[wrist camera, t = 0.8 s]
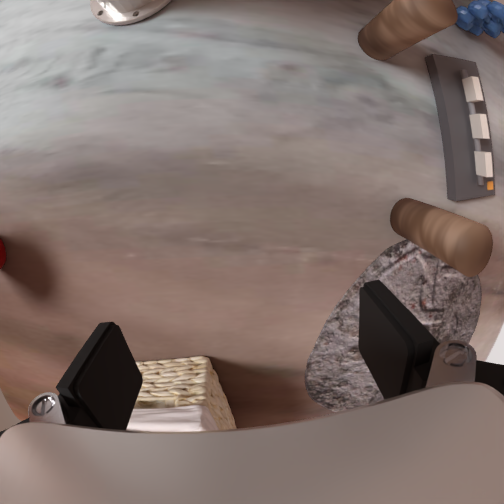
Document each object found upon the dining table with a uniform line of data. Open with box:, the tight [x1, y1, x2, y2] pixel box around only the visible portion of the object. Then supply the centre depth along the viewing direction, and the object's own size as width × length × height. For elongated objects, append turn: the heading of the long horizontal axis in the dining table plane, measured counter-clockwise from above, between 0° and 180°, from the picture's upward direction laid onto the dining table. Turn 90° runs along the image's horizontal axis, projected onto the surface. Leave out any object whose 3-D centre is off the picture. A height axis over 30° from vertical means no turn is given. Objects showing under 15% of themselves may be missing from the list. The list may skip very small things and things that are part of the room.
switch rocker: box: [460, 69, 493, 185], centre depth 26 cm, size 16×1×3 cm, turn 11°
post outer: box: [390, 198, 493, 277], centre depth 27 cm, size 5×5×14 cm
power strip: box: [425, 54, 495, 201], centre depth 29 cm, size 20×9×2 cm, turn 11°
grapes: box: [455, 0, 504, 38], centre depth 18 cm, size 12×7×12 cm, turn 97°
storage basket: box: [126, 356, 237, 432], centre depth 36 cm, size 24×16×15 cm
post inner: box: [358, 0, 458, 60], centre depth 20 cm, size 5×5×14 cm
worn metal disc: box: [305, 240, 481, 412], centre depth 40 cm, size 33×35×1 cm
